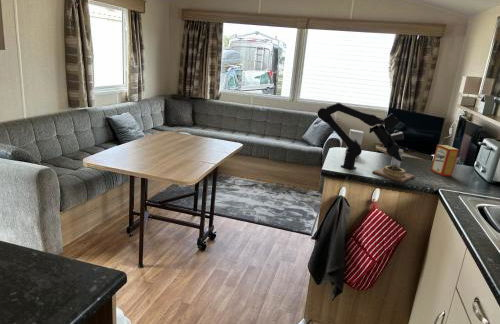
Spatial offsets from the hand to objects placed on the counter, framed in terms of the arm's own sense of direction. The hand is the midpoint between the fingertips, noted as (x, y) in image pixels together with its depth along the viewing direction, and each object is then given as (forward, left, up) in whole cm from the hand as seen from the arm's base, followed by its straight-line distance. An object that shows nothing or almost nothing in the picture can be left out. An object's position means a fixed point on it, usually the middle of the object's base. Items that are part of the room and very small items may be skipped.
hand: (399, 158), depth 191 cm
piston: (-1, +1, -8) cm, 8 cm away
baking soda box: (+34, -12, -10) cm, 38 cm away
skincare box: (+15, +35, -10) cm, 40 cm away
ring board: (-1, +1, -10) cm, 10 cm away
